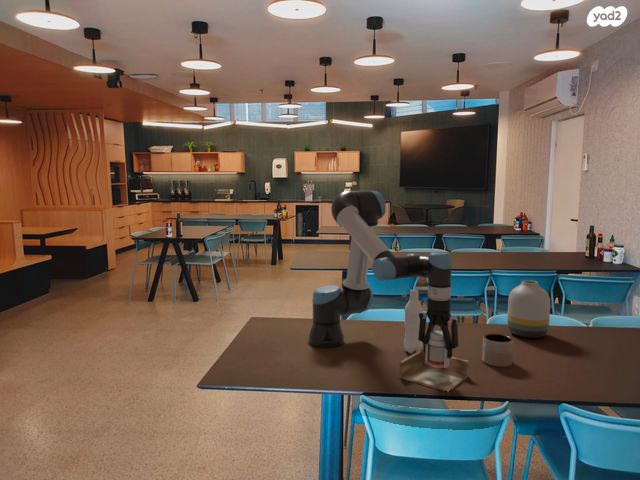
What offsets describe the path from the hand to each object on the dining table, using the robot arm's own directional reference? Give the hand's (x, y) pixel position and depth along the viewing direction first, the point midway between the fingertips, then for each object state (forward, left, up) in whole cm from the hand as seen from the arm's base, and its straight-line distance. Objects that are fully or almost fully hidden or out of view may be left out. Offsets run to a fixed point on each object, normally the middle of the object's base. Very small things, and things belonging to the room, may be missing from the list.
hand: (437, 364), depth 162 cm
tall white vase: (-20, +19, -6) cm, 28 cm away
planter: (+10, +29, -6) cm, 31 cm away
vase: (+9, +70, -6) cm, 71 cm away
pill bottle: (0, 0, -1) cm, 1 cm away
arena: (-2, +1, -6) cm, 6 cm away
